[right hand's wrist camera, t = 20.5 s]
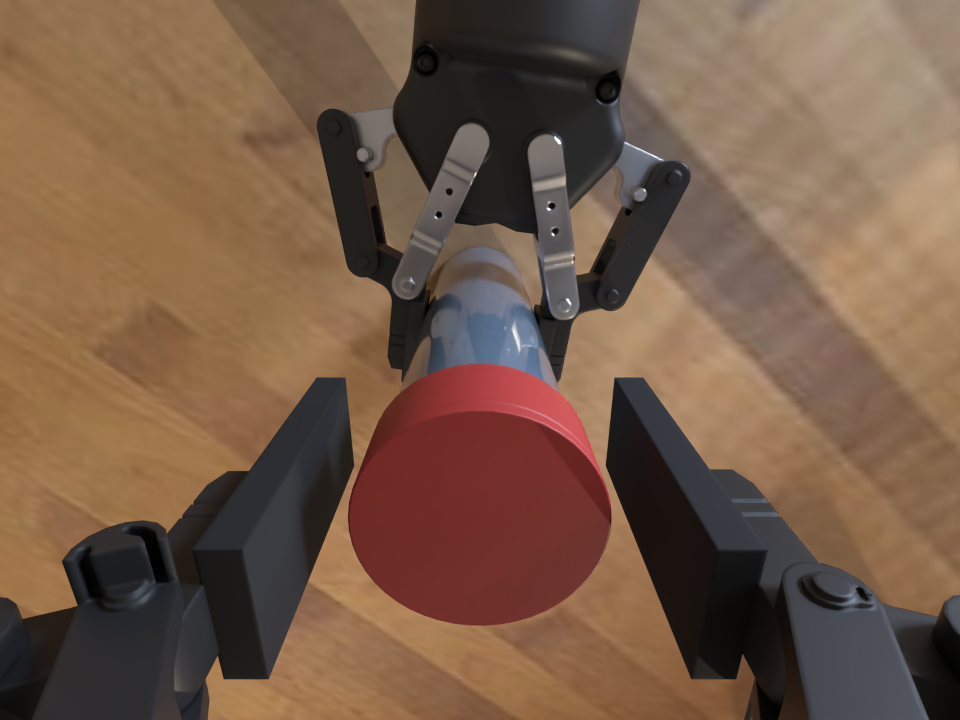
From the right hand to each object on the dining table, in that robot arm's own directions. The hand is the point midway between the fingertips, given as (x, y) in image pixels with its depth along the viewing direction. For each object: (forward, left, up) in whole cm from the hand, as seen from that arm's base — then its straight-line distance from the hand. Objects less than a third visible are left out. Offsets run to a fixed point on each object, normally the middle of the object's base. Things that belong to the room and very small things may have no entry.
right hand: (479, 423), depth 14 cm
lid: (0, 0, +4) cm, 4 cm away
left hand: (+2, +2, -9) cm, 9 cm away
